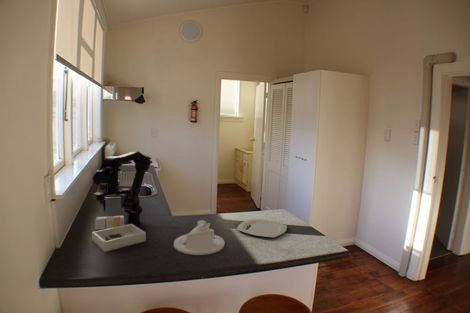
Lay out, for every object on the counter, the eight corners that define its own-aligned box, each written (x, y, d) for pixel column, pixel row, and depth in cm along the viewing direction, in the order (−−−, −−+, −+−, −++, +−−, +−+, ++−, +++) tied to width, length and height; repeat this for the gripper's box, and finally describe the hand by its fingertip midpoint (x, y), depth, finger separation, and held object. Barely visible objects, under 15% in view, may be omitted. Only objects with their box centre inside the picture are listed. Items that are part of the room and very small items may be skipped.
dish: (197, 231, 165) (197, 211, 164) (234, 243, 151) (235, 221, 150) (163, 245, 145) (163, 223, 144) (201, 260, 131) (202, 235, 130)
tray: (131, 231, 160) (131, 223, 160) (145, 241, 149) (145, 232, 148) (92, 240, 147) (92, 232, 146) (104, 251, 135) (104, 242, 135)
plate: (230, 232, 166) (230, 229, 165) (250, 219, 189) (250, 216, 189) (276, 243, 153) (276, 239, 153) (292, 228, 177) (292, 224, 177)
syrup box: (95, 229, 160) (124, 228, 165) (95, 219, 160) (124, 217, 165) (96, 227, 165) (124, 225, 170) (96, 216, 165) (124, 215, 170)
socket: (119, 236, 151) (119, 232, 151) (125, 240, 146) (125, 236, 146) (105, 239, 146) (105, 235, 146) (110, 244, 141) (110, 240, 141)
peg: (118, 230, 162) (118, 215, 162) (121, 231, 160) (121, 217, 159) (112, 231, 160) (111, 216, 159) (114, 233, 157) (114, 218, 156)
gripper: (122, 176, 169) (123, 203, 171) (88, 180, 155) (89, 209, 157) (132, 179, 161) (132, 207, 163) (96, 184, 148) (97, 215, 150)
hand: (113, 209), depth 158 cm, fingers open, 9 cm apart
